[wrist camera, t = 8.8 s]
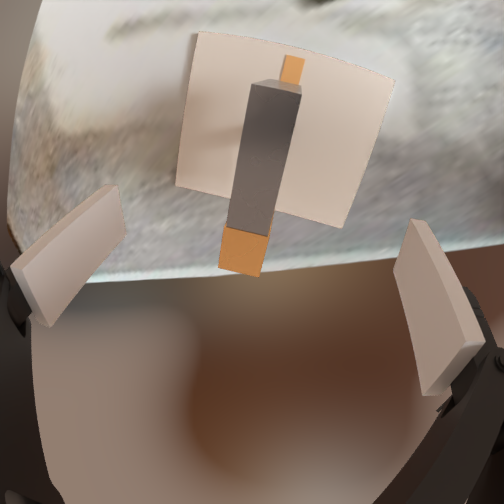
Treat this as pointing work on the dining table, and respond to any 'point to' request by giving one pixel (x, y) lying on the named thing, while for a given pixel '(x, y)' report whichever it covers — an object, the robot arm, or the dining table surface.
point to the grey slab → (258, 174)
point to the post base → (305, 131)
